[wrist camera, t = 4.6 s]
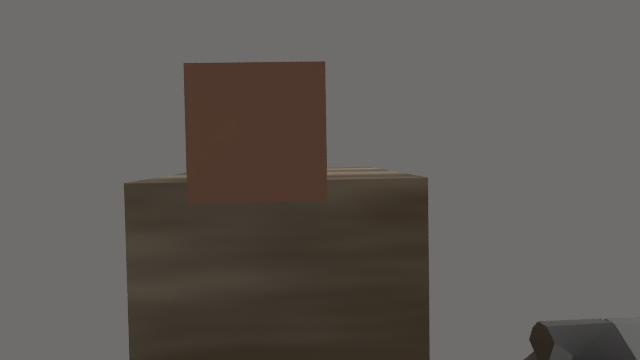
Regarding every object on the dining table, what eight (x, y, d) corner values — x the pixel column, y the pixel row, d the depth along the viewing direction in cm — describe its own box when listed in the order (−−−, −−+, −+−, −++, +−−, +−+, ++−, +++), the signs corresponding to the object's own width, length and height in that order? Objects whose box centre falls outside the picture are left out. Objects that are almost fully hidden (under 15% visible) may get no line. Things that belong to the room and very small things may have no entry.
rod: (265, 168, 36) (264, 127, 35) (307, 168, 36) (306, 126, 36) (187, 204, 11) (183, 63, 11) (327, 201, 11) (325, 61, 11)
